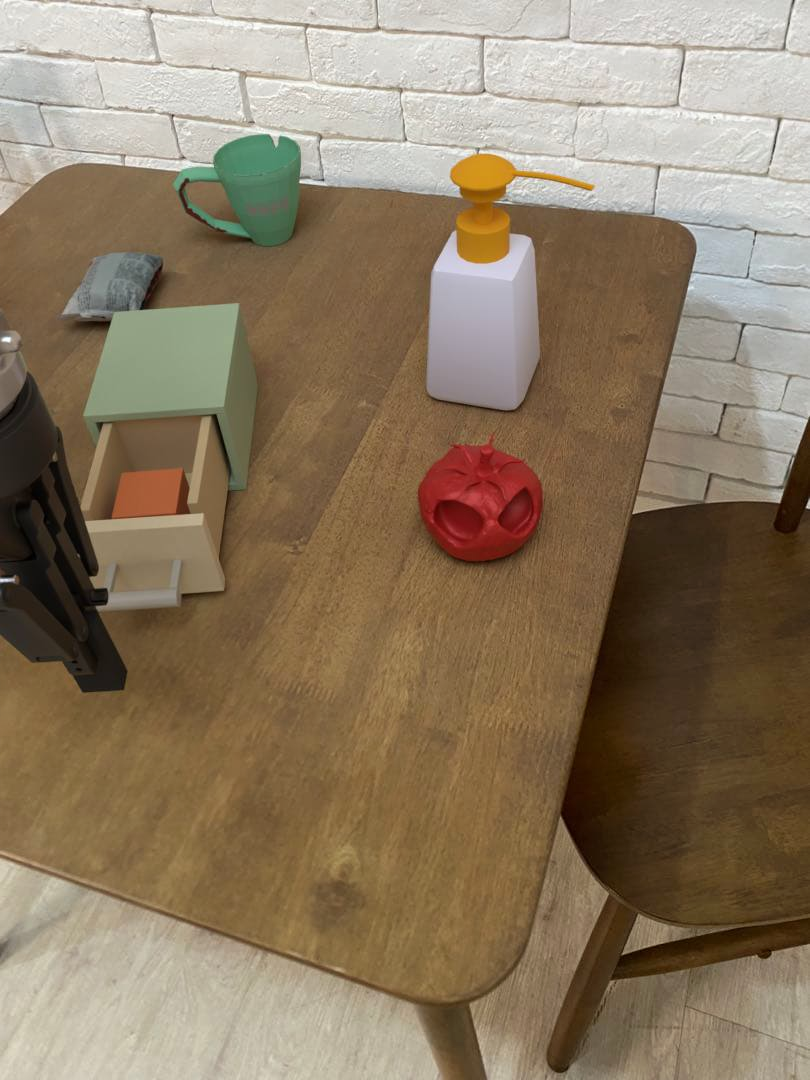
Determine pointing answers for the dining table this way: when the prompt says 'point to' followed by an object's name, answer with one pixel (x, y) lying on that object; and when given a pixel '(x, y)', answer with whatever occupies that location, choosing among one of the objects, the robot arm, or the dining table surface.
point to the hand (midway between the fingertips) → (105, 681)
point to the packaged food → (114, 286)
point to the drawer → (162, 541)
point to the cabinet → (179, 374)
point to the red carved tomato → (480, 502)
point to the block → (152, 494)
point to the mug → (251, 187)
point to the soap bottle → (485, 295)
